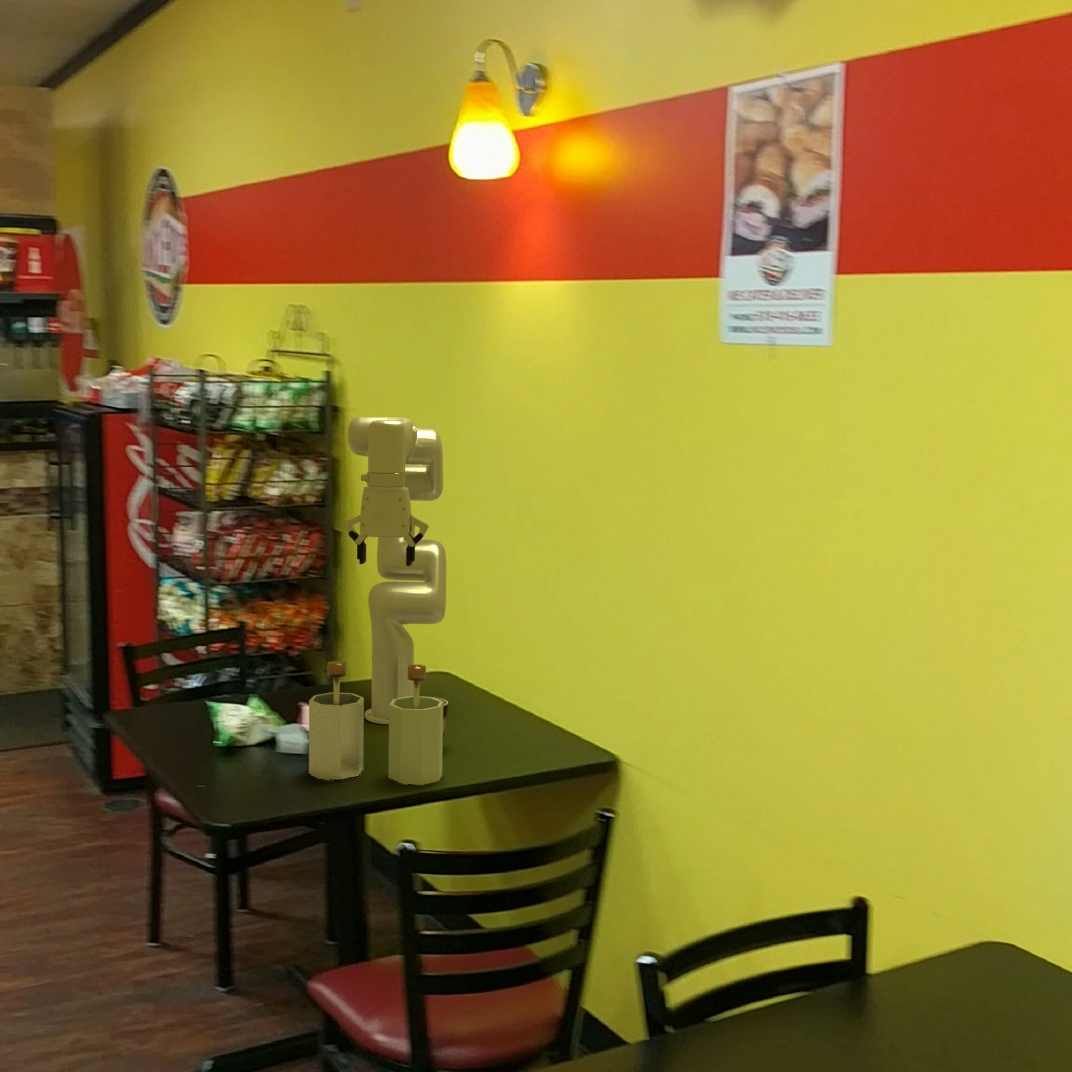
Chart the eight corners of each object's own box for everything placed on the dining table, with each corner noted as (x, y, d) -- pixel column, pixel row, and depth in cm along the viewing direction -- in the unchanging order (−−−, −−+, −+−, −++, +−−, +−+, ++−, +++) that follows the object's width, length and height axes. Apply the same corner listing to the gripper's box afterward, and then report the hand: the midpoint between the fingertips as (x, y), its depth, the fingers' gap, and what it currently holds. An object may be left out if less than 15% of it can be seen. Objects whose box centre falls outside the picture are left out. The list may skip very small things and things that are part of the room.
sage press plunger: (400, 744, 264) (401, 661, 262) (438, 746, 264) (439, 663, 262) (393, 755, 257) (393, 670, 255) (431, 757, 256) (432, 672, 254)
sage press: (395, 767, 267) (396, 695, 264) (444, 770, 266) (445, 697, 264) (385, 783, 257) (386, 708, 255) (436, 786, 256) (437, 710, 254)
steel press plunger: (322, 740, 266) (322, 657, 264) (359, 742, 265) (359, 659, 263) (312, 751, 258) (312, 666, 256) (350, 753, 258) (351, 668, 255)
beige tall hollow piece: (318, 763, 268) (318, 691, 266) (366, 765, 267) (367, 694, 265) (305, 779, 258) (305, 704, 256) (355, 781, 257) (355, 707, 255)
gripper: (340, 481, 264) (340, 565, 266) (425, 484, 262) (424, 568, 265) (349, 477, 271) (348, 559, 274) (431, 480, 270) (430, 563, 272)
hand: (385, 564), depth 269 cm, fingers open, 9 cm apart
